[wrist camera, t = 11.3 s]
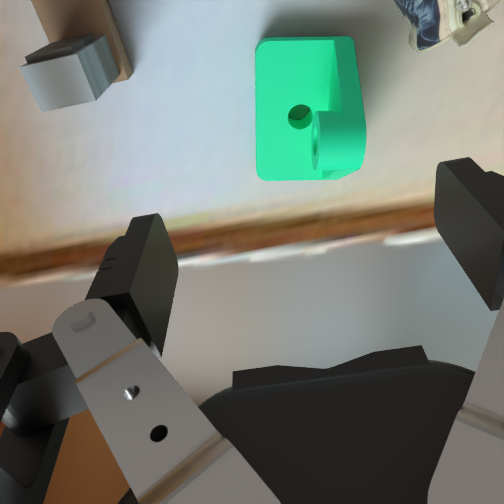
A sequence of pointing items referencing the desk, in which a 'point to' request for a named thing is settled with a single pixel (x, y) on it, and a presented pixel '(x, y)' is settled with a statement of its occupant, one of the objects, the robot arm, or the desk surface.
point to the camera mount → (320, 113)
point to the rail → (82, 24)
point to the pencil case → (445, 21)
